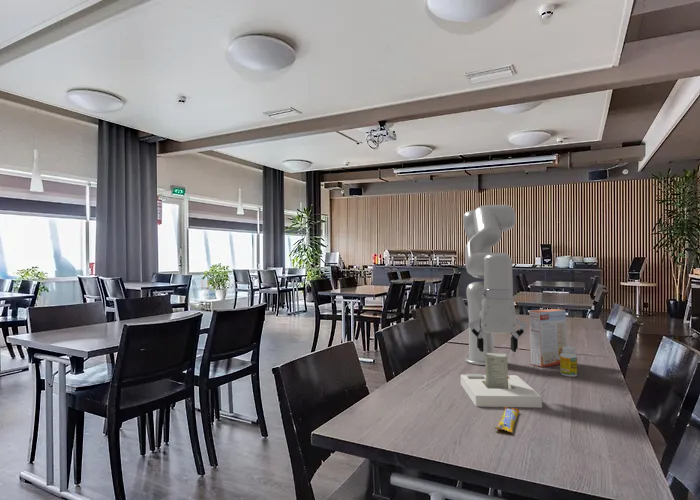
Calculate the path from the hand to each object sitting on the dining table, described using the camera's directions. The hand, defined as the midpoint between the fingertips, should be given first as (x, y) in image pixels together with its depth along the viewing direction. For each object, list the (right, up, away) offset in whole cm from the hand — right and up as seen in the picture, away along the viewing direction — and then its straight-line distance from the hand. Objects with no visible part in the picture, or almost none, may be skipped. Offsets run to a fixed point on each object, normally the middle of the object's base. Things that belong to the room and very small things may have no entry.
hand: (497, 350), depth 135 cm
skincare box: (0, -13, -1) cm, 13 cm away
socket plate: (0, -13, -1) cm, 13 cm away
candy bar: (-5, -13, -23) cm, 27 cm away
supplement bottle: (+32, -14, +21) cm, 41 cm away
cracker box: (+32, -14, +37) cm, 51 cm away
